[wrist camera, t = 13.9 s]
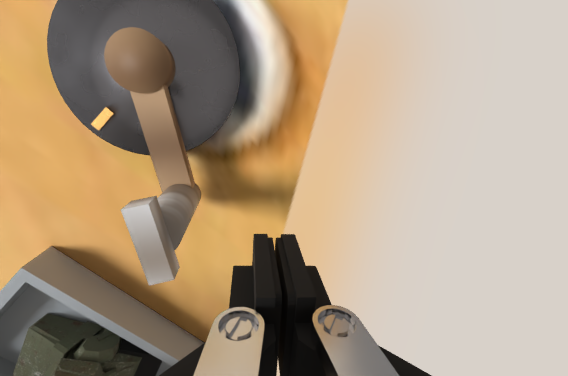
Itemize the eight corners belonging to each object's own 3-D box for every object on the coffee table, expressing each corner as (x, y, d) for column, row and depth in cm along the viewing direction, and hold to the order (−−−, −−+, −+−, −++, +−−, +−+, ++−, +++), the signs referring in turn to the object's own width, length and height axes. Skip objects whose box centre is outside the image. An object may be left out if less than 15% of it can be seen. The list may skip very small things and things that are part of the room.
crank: (108, 39, 18) (-3, -17, 10) (166, 30, 18) (105, -31, 10) (168, 223, 21) (123, 291, 13) (215, 213, 22) (198, 274, 14)
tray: (134, 421, 28) (121, 458, 25) (-34, 340, 24) (-75, 374, 21) (211, 347, 27) (207, 377, 24) (51, 246, 22) (21, 267, 19)
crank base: (168, 183, 22) (163, 188, 21) (23, 66, 19) (4, 63, 17) (273, 71, 21) (275, 68, 20) (138, -76, 18) (128, -93, 16)
